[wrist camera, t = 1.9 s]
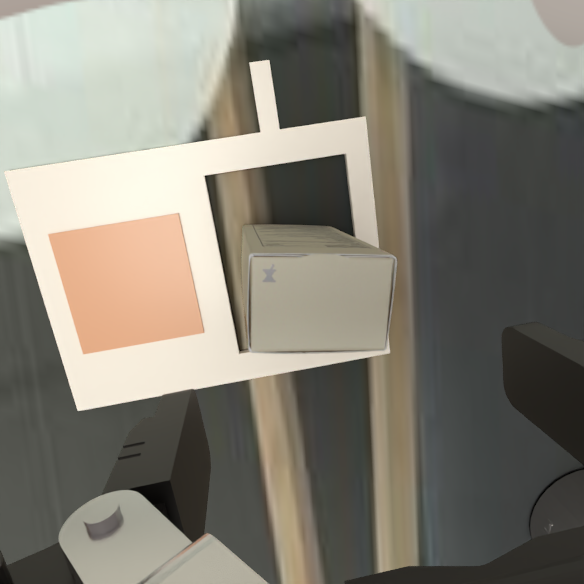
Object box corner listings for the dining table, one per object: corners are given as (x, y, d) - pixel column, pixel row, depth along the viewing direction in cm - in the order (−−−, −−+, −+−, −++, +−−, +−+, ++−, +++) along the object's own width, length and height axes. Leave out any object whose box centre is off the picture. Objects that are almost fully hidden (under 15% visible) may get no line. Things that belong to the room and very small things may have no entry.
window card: (356, 48, 27) (359, 45, 27) (387, 350, 32) (391, 354, 32) (-14, 100, 26) (-21, 98, 25) (80, 407, 31) (76, 412, 30)
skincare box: (241, 287, 30) (238, 356, 18) (241, 222, 29) (239, 251, 17) (334, 288, 31) (390, 356, 19) (338, 225, 30) (400, 255, 18)
